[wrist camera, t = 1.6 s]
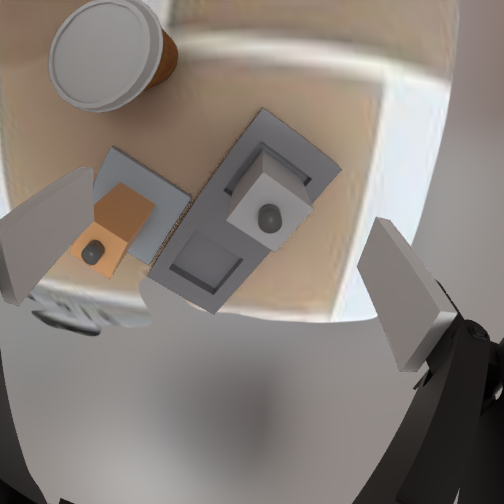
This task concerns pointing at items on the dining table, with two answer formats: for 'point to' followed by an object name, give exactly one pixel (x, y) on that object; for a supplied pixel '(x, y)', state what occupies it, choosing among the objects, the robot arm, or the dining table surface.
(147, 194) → the mat
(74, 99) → the disposable coffee cup
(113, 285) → the dining table surface
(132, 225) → the plug
